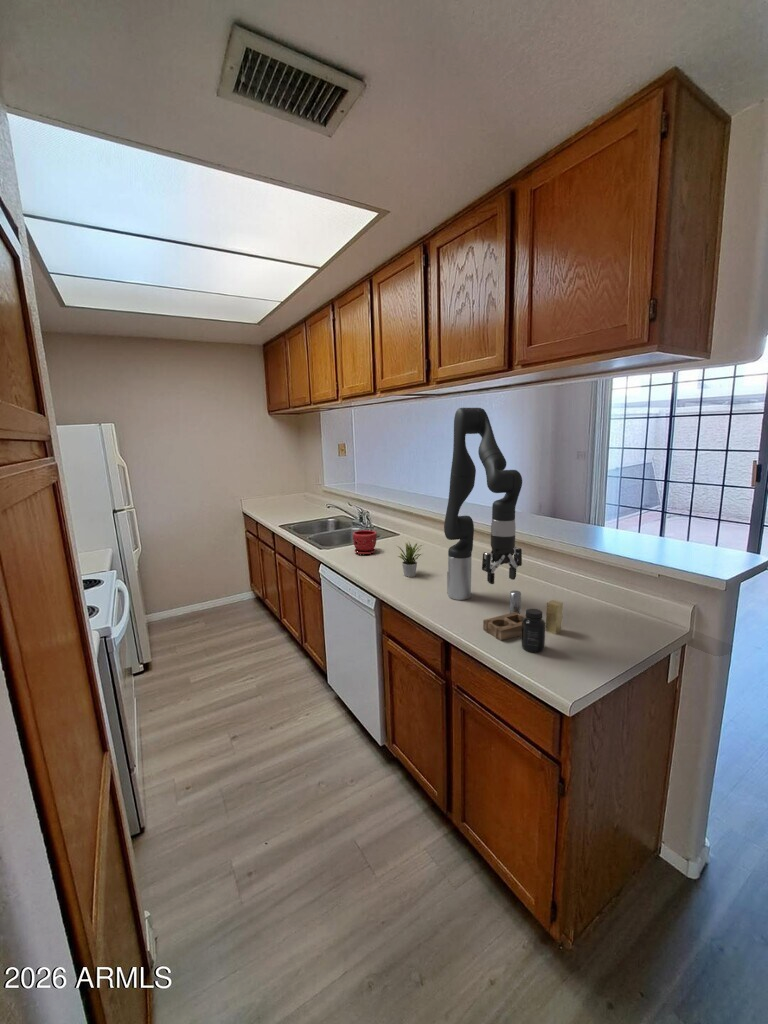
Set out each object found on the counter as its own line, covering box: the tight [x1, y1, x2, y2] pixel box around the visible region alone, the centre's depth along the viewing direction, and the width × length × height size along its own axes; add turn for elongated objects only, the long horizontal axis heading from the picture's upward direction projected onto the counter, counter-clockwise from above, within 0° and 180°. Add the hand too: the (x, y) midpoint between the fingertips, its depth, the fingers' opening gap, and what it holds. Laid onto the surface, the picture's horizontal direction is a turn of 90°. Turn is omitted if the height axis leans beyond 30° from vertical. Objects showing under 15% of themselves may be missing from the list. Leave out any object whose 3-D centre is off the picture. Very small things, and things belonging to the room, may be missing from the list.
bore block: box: [482, 612, 526, 642], centre depth 143 cm, size 9×14×4 cm, turn 115°
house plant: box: [396, 540, 425, 578], centre depth 199 cm, size 14×14×16 cm
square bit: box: [545, 599, 564, 635], centre depth 142 cm, size 4×4×10 cm
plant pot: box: [352, 530, 378, 555], centre depth 238 cm, size 13×13×12 cm
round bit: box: [509, 590, 522, 614], centre depth 151 cm, size 4×4×10 cm
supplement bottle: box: [520, 608, 546, 653], centre depth 131 cm, size 7×7×12 cm
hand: (501, 581), depth 139 cm, fingers open, 8 cm apart
